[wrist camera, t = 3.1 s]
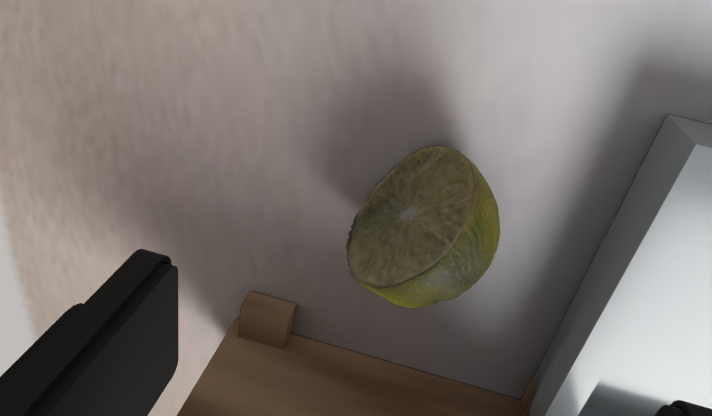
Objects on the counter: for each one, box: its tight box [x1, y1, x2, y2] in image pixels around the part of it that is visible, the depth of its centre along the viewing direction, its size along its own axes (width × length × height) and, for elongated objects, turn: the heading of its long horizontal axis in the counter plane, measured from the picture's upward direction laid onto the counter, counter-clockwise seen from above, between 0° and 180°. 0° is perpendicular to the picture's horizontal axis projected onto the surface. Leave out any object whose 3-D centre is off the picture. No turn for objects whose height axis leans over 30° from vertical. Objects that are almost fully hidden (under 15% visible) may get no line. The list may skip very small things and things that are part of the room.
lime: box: [346, 146, 500, 308], centre depth 16 cm, size 4×5×5 cm
